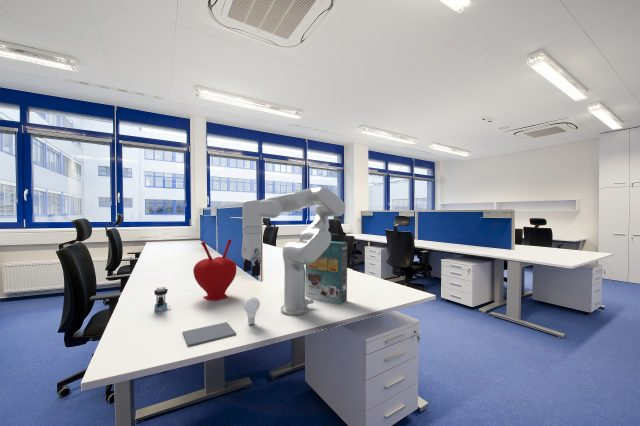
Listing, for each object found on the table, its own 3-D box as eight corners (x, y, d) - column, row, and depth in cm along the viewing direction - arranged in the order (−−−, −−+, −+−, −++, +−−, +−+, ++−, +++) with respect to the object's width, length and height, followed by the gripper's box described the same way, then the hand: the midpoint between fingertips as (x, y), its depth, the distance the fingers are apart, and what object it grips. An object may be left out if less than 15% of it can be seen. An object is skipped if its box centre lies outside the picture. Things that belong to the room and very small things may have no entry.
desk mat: (226, 323, 108) (226, 321, 108) (236, 334, 98) (236, 333, 98) (182, 333, 99) (182, 331, 99) (187, 346, 89) (187, 344, 89)
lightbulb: (251, 328, 103) (251, 300, 103) (239, 325, 106) (240, 297, 106) (262, 323, 108) (263, 296, 108) (251, 319, 112) (252, 293, 112)
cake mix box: (346, 301, 137) (347, 242, 138) (341, 304, 132) (341, 243, 132) (311, 293, 149) (312, 239, 149) (305, 296, 144) (305, 240, 144)
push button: (171, 307, 126) (171, 285, 126) (170, 311, 121) (170, 288, 121) (154, 309, 123) (155, 287, 123) (152, 313, 118) (153, 290, 118)
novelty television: (226, 290, 153) (226, 238, 153) (240, 294, 146) (241, 239, 146) (190, 299, 136) (191, 240, 136) (204, 305, 129) (205, 242, 129)
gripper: (236, 229, 113) (235, 270, 113) (250, 232, 98) (250, 279, 98) (253, 229, 117) (252, 268, 117) (269, 231, 103) (269, 276, 103)
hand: (251, 273), depth 108 cm, fingers open, 9 cm apart
